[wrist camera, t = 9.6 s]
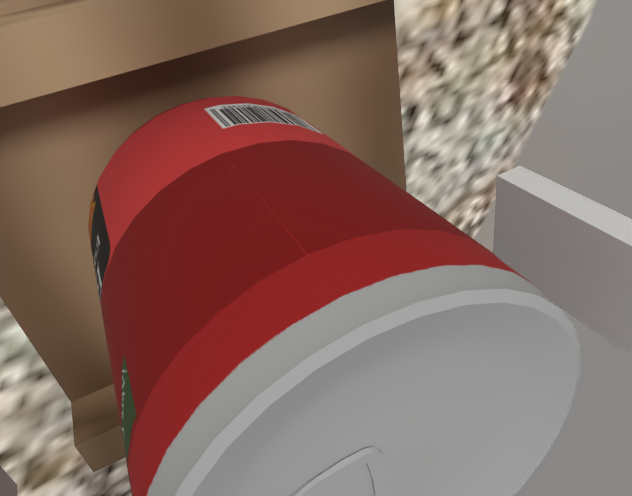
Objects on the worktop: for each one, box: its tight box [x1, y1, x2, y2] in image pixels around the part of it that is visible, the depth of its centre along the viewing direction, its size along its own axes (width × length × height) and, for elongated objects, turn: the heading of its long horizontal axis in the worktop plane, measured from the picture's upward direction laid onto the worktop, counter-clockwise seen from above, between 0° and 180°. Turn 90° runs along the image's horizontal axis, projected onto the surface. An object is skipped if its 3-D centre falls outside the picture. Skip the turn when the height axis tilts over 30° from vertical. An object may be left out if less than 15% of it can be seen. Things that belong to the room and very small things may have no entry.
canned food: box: [88, 96, 581, 496], centre depth 13 cm, size 8×8×11 cm
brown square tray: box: [0, 0, 406, 472], centre depth 18 cm, size 16×16×6 cm
